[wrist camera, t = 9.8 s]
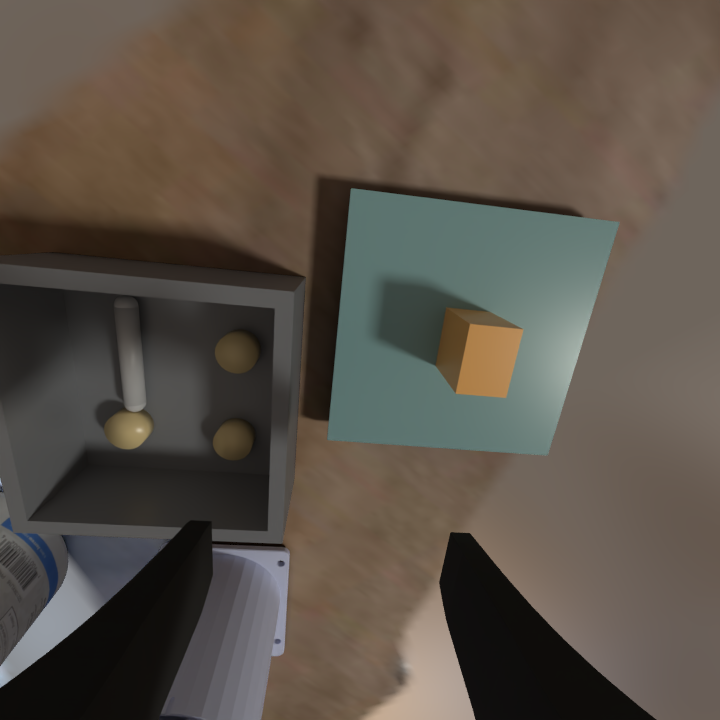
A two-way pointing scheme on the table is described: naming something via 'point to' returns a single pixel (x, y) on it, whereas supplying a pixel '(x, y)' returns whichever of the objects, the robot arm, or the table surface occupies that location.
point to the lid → (460, 322)
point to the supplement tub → (26, 578)
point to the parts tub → (147, 397)
